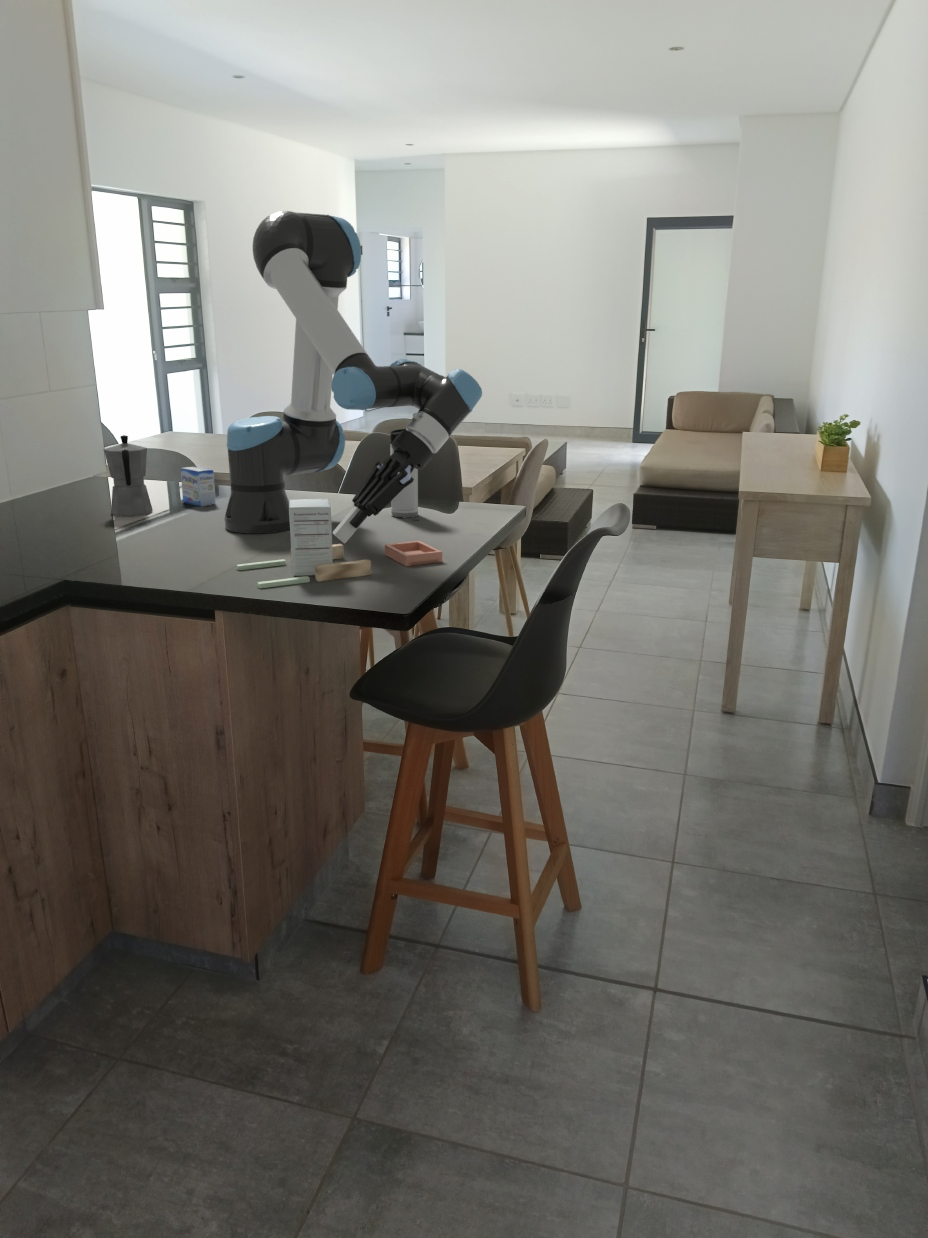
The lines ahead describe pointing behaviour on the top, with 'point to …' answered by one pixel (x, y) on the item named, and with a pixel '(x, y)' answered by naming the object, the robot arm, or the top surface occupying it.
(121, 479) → the coffeepot
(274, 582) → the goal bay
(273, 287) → the robot arm
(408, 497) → the travel mug
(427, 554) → the pit tray
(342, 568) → the channel
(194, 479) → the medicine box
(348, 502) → the top surface
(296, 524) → the supplement box
